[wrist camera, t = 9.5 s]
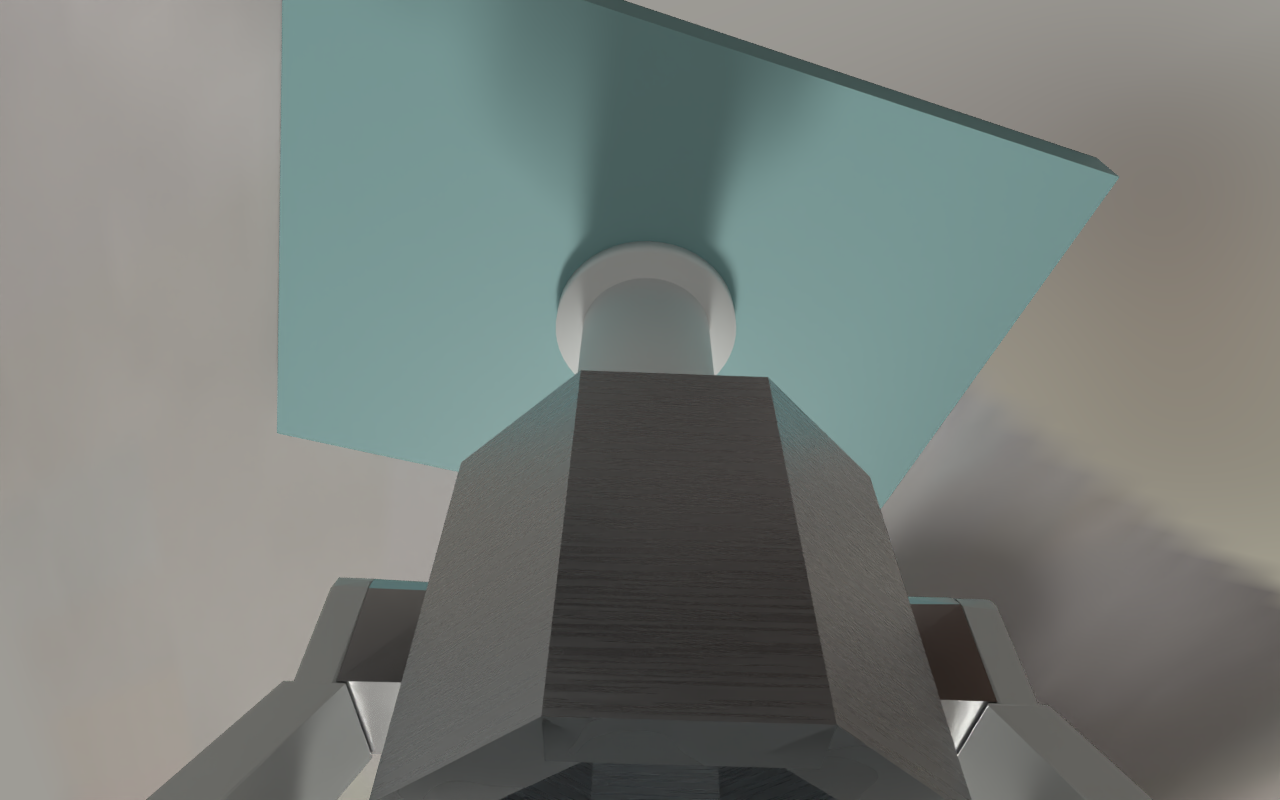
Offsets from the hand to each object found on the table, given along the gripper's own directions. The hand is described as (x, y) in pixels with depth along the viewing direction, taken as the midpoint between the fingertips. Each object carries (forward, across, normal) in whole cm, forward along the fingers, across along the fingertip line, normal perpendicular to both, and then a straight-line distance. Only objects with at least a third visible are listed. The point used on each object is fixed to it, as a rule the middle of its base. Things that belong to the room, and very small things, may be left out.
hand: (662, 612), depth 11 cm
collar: (+2, 0, 0) cm, 2 cm away
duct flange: (+9, 0, 0) cm, 9 cm away
